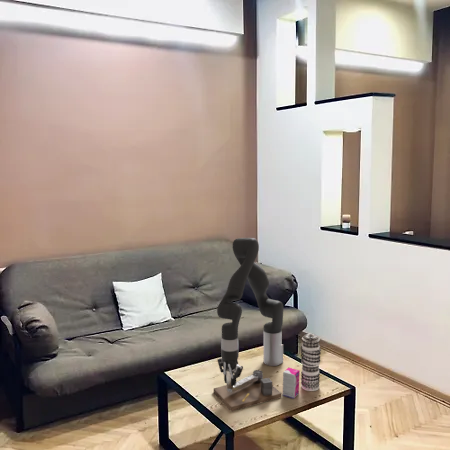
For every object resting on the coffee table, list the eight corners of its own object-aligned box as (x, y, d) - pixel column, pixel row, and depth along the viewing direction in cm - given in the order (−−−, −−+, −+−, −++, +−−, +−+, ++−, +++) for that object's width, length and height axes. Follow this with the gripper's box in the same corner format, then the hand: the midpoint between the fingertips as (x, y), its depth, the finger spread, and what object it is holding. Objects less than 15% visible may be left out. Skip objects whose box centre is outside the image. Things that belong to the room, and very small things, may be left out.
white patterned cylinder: (307, 393, 224) (308, 341, 220) (296, 384, 233) (296, 333, 228) (324, 388, 228) (325, 337, 224) (312, 380, 236) (313, 330, 232)
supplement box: (294, 399, 219) (294, 375, 217) (282, 395, 222) (282, 371, 221) (299, 393, 224) (299, 369, 222) (287, 390, 227) (287, 366, 225)
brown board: (261, 380, 237) (261, 364, 236) (281, 397, 221) (281, 380, 220) (213, 392, 226) (213, 376, 225) (231, 411, 210) (231, 393, 209)
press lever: (257, 377, 235) (257, 354, 233) (264, 380, 231) (264, 357, 229) (224, 394, 220) (223, 369, 218) (231, 398, 217) (230, 373, 215)
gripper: (247, 349, 213) (247, 386, 216) (224, 340, 223) (224, 375, 226) (235, 354, 208) (236, 392, 211) (212, 345, 218) (212, 381, 221)
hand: (230, 383), depth 218 cm, fingers closed on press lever, 3 cm apart
